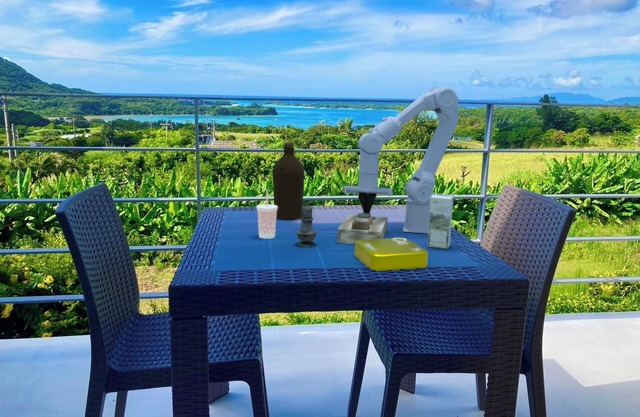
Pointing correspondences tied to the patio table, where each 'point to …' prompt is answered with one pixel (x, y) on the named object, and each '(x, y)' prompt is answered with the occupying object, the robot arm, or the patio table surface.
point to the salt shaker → (306, 228)
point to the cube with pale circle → (360, 224)
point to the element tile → (390, 254)
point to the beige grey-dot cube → (365, 216)
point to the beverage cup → (267, 219)
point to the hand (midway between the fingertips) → (366, 217)
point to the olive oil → (288, 185)
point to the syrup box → (440, 221)
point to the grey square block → (352, 235)
